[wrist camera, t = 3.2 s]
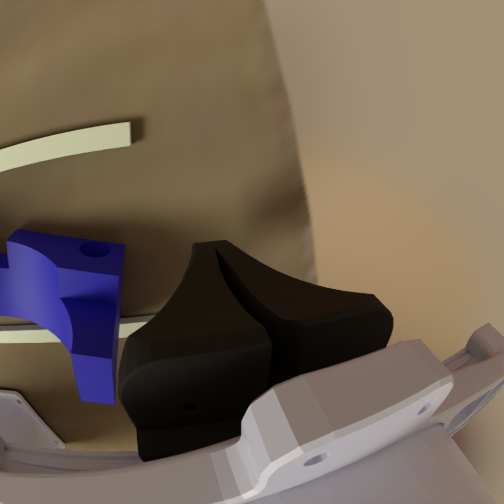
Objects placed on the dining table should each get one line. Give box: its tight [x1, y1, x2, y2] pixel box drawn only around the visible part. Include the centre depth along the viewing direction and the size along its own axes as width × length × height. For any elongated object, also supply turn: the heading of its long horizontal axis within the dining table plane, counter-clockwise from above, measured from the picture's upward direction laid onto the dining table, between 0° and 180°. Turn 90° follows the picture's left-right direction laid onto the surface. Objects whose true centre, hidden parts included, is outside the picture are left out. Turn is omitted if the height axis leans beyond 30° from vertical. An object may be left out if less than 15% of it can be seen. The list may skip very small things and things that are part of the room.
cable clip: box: [0, 230, 125, 405], centre depth 9 cm, size 12×4×6 cm, turn 73°
